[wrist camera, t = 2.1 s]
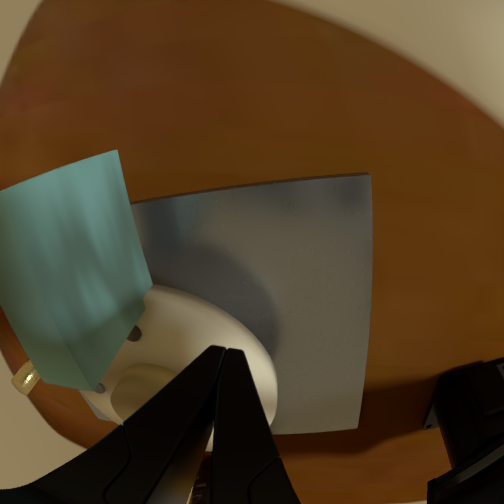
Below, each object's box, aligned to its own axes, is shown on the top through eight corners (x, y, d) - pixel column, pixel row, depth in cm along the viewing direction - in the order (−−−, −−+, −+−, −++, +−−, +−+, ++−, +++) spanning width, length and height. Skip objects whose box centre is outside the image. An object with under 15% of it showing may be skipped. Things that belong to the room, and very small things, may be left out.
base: (356, 422, 21) (364, 489, 15) (100, 413, 24) (75, 463, 19) (367, 172, 13) (416, 213, 8) (8, 229, 17) (-53, 269, 11)
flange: (286, 438, 17) (281, 522, 12) (120, 426, 19) (92, 490, 14) (238, 123, 10) (184, 134, 5) (8, 186, 12) (-81, 231, 7)
